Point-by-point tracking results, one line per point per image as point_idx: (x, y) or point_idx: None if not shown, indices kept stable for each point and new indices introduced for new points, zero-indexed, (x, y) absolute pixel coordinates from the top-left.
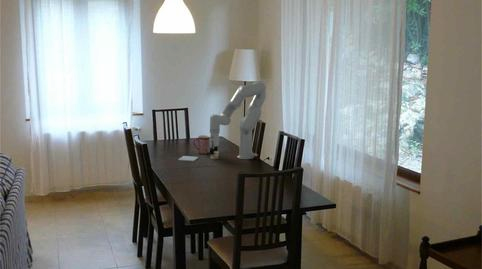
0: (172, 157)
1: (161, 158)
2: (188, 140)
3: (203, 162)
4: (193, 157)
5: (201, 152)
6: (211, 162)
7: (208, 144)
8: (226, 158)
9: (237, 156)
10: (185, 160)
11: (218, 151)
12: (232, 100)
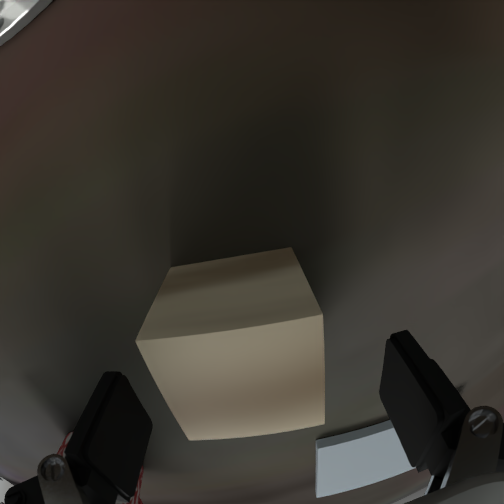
0: (349, 500)
1: (381, 501)
2: (14, 482)
3: (488, 310)
4: (353, 457)
5: (140, 472)
6: (487, 232)
7: None
8: (149, 113)
9: (36, 4)
10: None
11: (141, 347)
12: None
